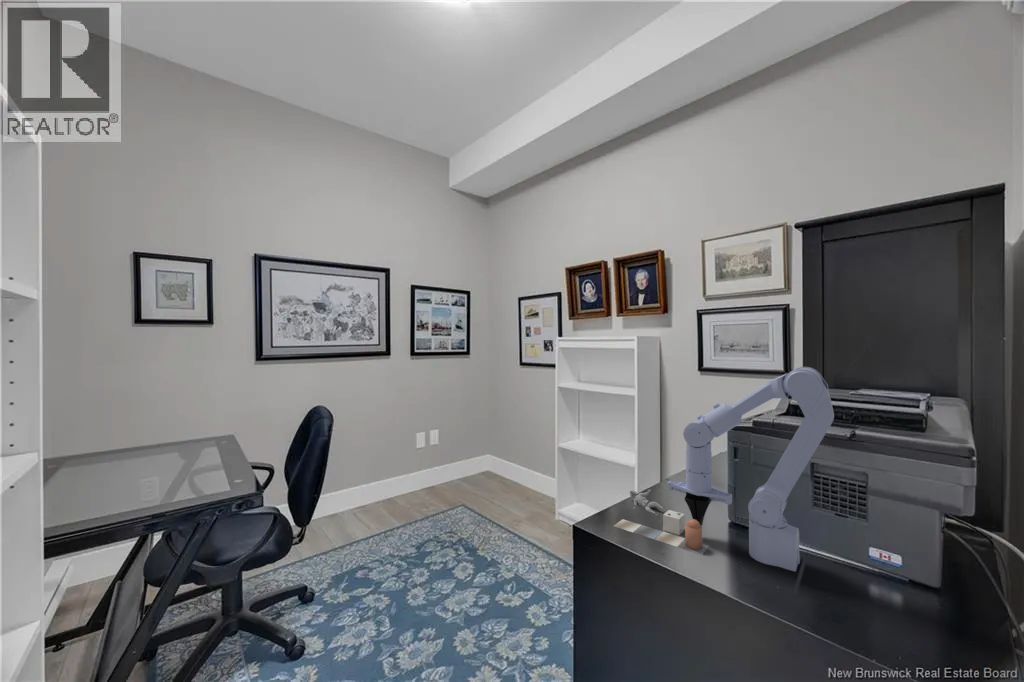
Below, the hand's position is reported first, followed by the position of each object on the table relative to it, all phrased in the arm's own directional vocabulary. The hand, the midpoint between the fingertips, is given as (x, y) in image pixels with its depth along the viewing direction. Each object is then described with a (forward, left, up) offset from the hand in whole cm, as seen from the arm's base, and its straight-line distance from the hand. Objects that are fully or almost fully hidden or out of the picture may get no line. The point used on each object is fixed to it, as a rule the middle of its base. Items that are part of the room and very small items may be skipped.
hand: (698, 525), depth 101 cm
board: (+8, +3, -4) cm, 9 cm away
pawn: (-1, +5, -3) cm, 6 cm away
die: (+6, 0, -3) cm, 7 cm away
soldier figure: (+17, -9, -4) cm, 20 cm away
